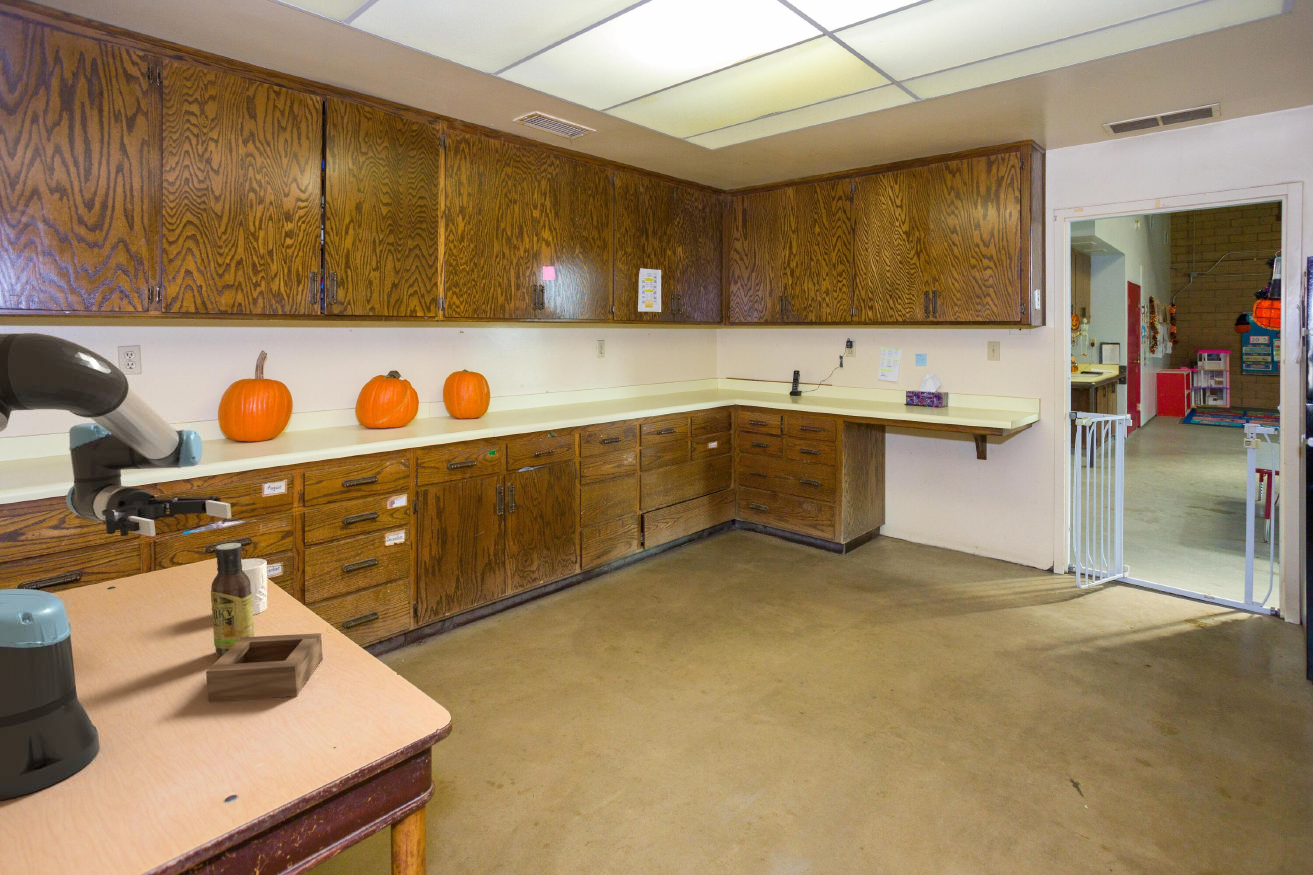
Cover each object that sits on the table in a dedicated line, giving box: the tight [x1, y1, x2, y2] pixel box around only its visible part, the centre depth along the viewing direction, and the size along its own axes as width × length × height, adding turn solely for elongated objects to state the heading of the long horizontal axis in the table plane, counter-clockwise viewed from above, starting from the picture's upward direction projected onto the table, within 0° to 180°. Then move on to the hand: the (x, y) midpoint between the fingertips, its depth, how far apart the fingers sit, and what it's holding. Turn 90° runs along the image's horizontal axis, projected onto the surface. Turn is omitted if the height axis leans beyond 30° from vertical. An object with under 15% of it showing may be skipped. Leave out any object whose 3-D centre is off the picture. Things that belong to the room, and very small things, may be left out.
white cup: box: [241, 558, 268, 616], centre depth 151 cm, size 8×8×10 cm
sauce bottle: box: [210, 542, 255, 658], centre depth 130 cm, size 6×6×20 cm
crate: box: [205, 632, 324, 703], centre depth 121 cm, size 13×13×5 cm
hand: (192, 519), depth 133 cm, fingers open, 13 cm apart
